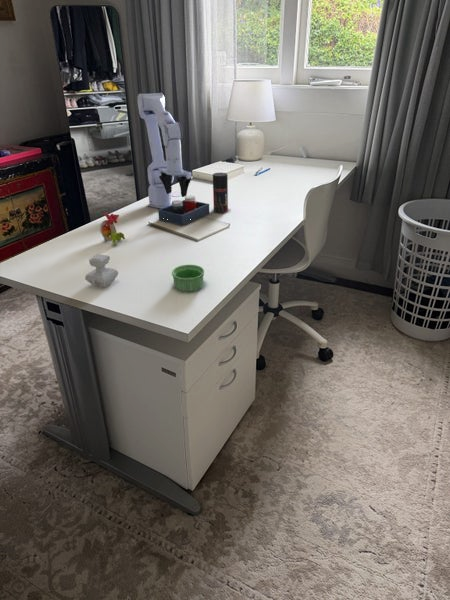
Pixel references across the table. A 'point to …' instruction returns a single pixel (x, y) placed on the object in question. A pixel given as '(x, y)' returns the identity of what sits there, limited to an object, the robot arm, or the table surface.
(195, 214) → the bin
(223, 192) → the deodorant
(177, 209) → the pepper shaker
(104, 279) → the stamp
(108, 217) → the bird rattle
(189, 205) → the salt shaker
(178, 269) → the ramekin
